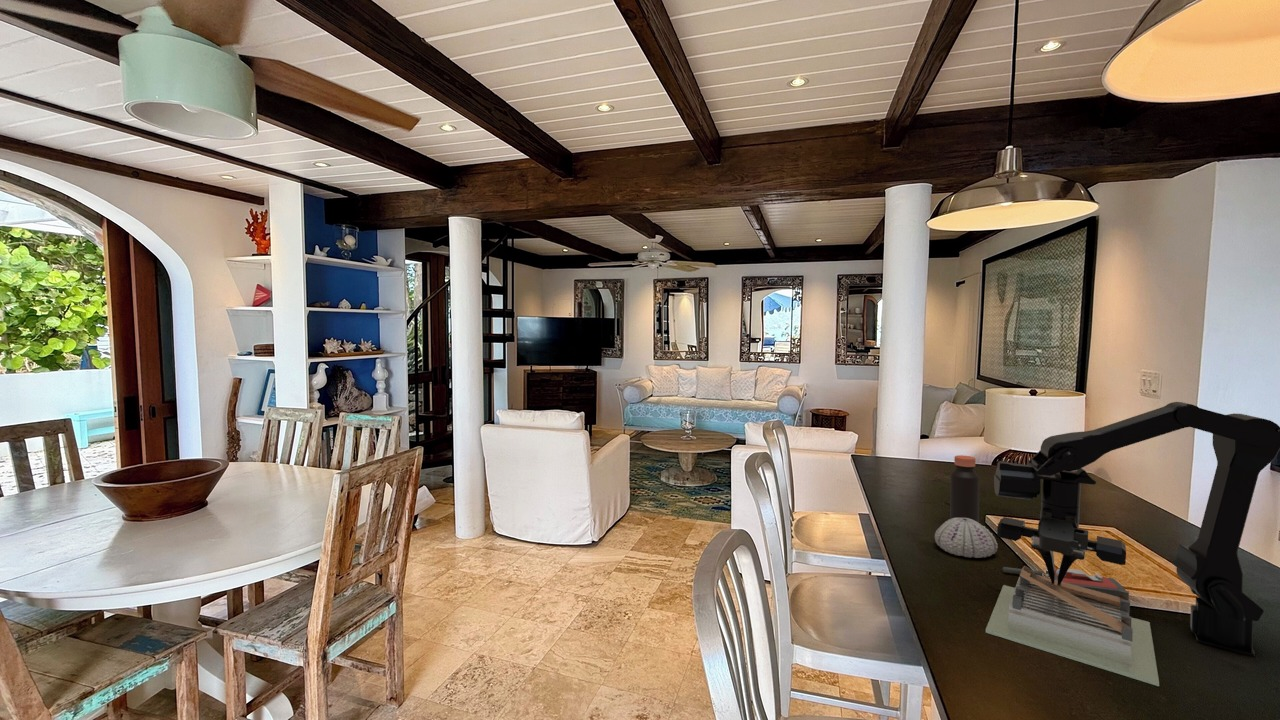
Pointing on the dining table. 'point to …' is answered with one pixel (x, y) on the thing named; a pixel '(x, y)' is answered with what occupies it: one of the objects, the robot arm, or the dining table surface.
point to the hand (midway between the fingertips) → (1056, 582)
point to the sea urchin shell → (965, 538)
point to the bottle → (964, 489)
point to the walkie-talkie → (1082, 580)
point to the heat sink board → (1075, 630)
